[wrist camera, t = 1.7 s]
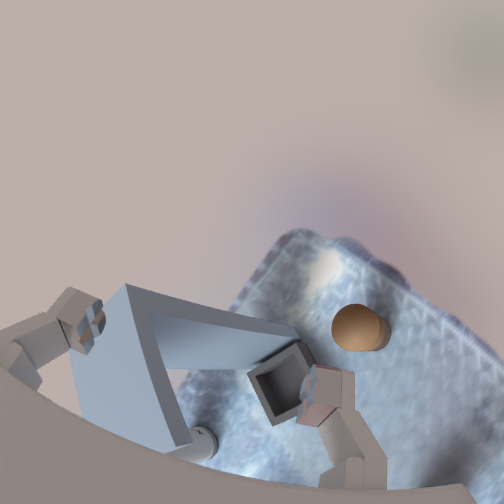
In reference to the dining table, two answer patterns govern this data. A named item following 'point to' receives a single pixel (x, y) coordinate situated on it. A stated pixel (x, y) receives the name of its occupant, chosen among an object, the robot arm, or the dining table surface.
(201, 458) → the travel mug
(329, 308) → the dining table surface
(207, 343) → the awning
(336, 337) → the peg
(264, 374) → the socket
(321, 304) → the dining table surface
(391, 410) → the dining table surface
